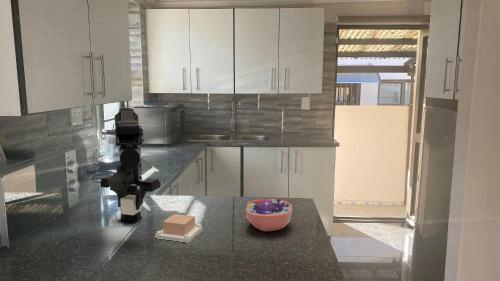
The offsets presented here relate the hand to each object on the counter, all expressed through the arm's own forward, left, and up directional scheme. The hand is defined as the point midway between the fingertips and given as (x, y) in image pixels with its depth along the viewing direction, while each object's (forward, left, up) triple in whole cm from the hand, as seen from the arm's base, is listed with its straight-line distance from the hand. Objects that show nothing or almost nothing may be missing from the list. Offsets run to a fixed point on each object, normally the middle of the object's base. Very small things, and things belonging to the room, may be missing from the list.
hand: (131, 209), depth 120 cm
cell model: (+40, +25, -11) cm, 48 cm away
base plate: (+12, +10, -11) cm, 19 cm away
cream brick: (0, 0, -1) cm, 1 cm away
